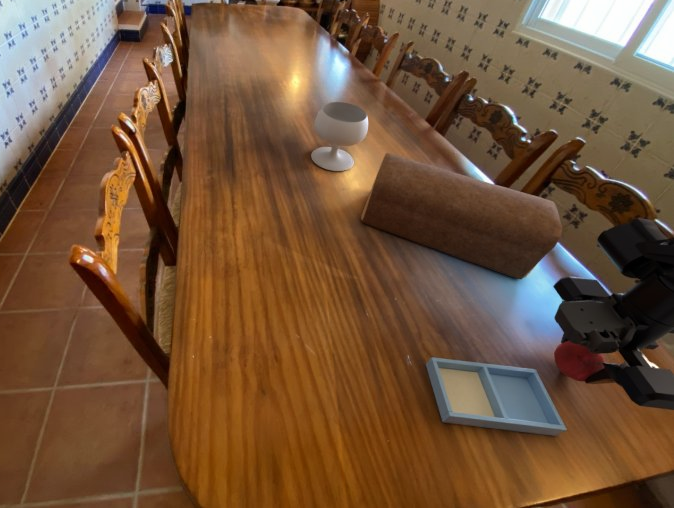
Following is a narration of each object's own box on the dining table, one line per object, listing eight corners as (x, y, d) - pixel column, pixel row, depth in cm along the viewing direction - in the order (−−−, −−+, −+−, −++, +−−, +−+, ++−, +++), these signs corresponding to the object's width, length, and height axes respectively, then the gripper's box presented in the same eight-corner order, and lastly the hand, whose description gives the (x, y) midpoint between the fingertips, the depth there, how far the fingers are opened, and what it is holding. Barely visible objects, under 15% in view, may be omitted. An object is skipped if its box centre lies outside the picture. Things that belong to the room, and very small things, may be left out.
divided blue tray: (556, 436, 51) (567, 430, 49) (442, 422, 51) (450, 415, 50) (526, 376, 57) (535, 369, 56) (425, 364, 58) (431, 357, 56)
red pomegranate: (593, 390, 56) (631, 367, 51) (558, 389, 56) (593, 365, 51) (568, 354, 61) (601, 330, 56) (535, 353, 61) (566, 328, 56)
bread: (370, 191, 92) (388, 143, 83) (518, 240, 82) (557, 192, 73) (358, 223, 82) (376, 174, 73) (523, 284, 72) (569, 235, 63)
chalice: (336, 180, 95) (351, 130, 85) (297, 156, 102) (306, 108, 93) (366, 162, 102) (382, 115, 93) (327, 141, 110) (339, 95, 100)
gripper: (551, 246, 54) (498, 305, 64) (645, 370, 40) (558, 421, 50) (626, 255, 54) (560, 312, 64) (748, 383, 39) (639, 431, 49)
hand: (575, 362), depth 57 cm, fingers closed on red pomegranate, 6 cm apart
